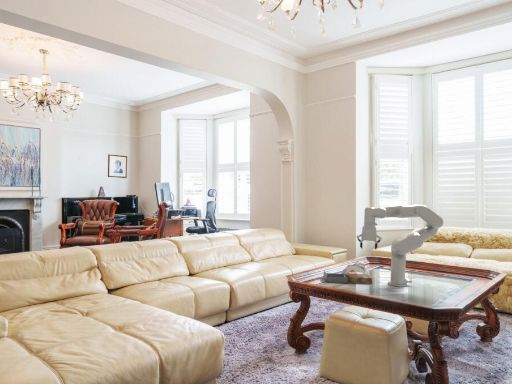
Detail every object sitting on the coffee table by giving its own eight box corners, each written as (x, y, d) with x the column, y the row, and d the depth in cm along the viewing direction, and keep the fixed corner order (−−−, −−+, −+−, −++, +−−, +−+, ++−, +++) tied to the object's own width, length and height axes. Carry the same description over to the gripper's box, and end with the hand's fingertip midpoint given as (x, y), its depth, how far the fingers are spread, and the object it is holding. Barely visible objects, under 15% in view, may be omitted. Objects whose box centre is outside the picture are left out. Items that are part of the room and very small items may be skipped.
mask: (372, 261, 308) (364, 267, 281) (371, 272, 308) (364, 279, 281) (347, 258, 317) (338, 264, 291) (347, 269, 317) (337, 276, 291)
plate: (367, 280, 278) (367, 274, 278) (372, 283, 266) (372, 278, 266) (345, 279, 278) (345, 273, 278) (349, 282, 266) (349, 277, 266)
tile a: (361, 275, 275) (361, 272, 275) (363, 276, 269) (363, 274, 269) (355, 274, 275) (355, 272, 275) (357, 276, 269) (357, 273, 269)
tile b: (354, 274, 275) (354, 272, 275) (356, 276, 269) (356, 273, 269) (347, 274, 275) (348, 271, 275) (349, 276, 269) (349, 273, 269)
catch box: (343, 278, 279) (344, 271, 279) (348, 283, 265) (348, 275, 265) (323, 277, 280) (323, 270, 280) (326, 282, 266) (326, 275, 266)
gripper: (381, 225, 273) (380, 248, 273) (356, 223, 276) (355, 247, 276) (382, 225, 266) (381, 250, 266) (357, 224, 269) (356, 248, 269)
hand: (368, 248), depth 271 cm, fingers open, 9 cm apart
